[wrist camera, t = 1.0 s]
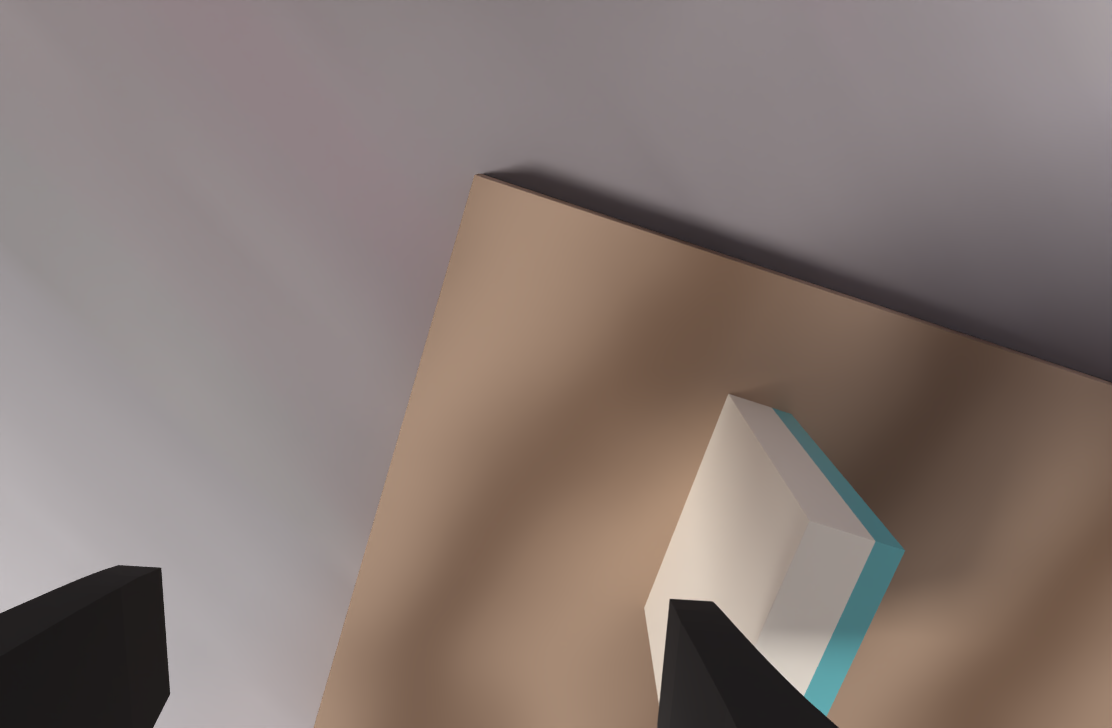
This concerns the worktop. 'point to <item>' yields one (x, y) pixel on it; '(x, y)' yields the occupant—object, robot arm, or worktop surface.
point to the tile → (777, 551)
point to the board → (668, 475)
